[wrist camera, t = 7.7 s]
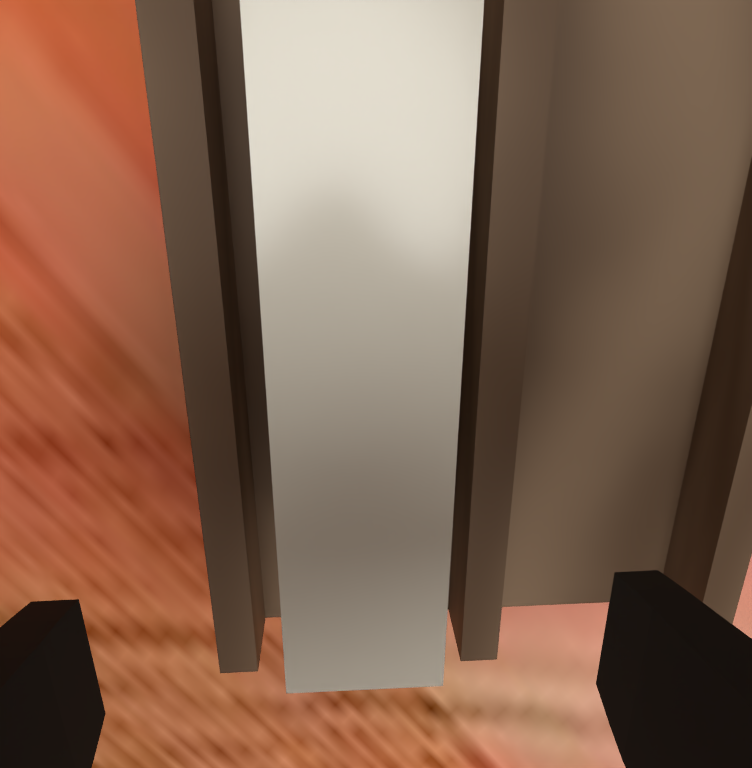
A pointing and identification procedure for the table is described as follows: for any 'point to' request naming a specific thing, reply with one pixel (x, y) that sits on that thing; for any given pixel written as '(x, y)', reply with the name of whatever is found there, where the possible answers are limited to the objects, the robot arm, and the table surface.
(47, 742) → the robot arm
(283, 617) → the white rectangular block
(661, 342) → the rack
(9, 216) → the table surface
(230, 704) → the table surface
